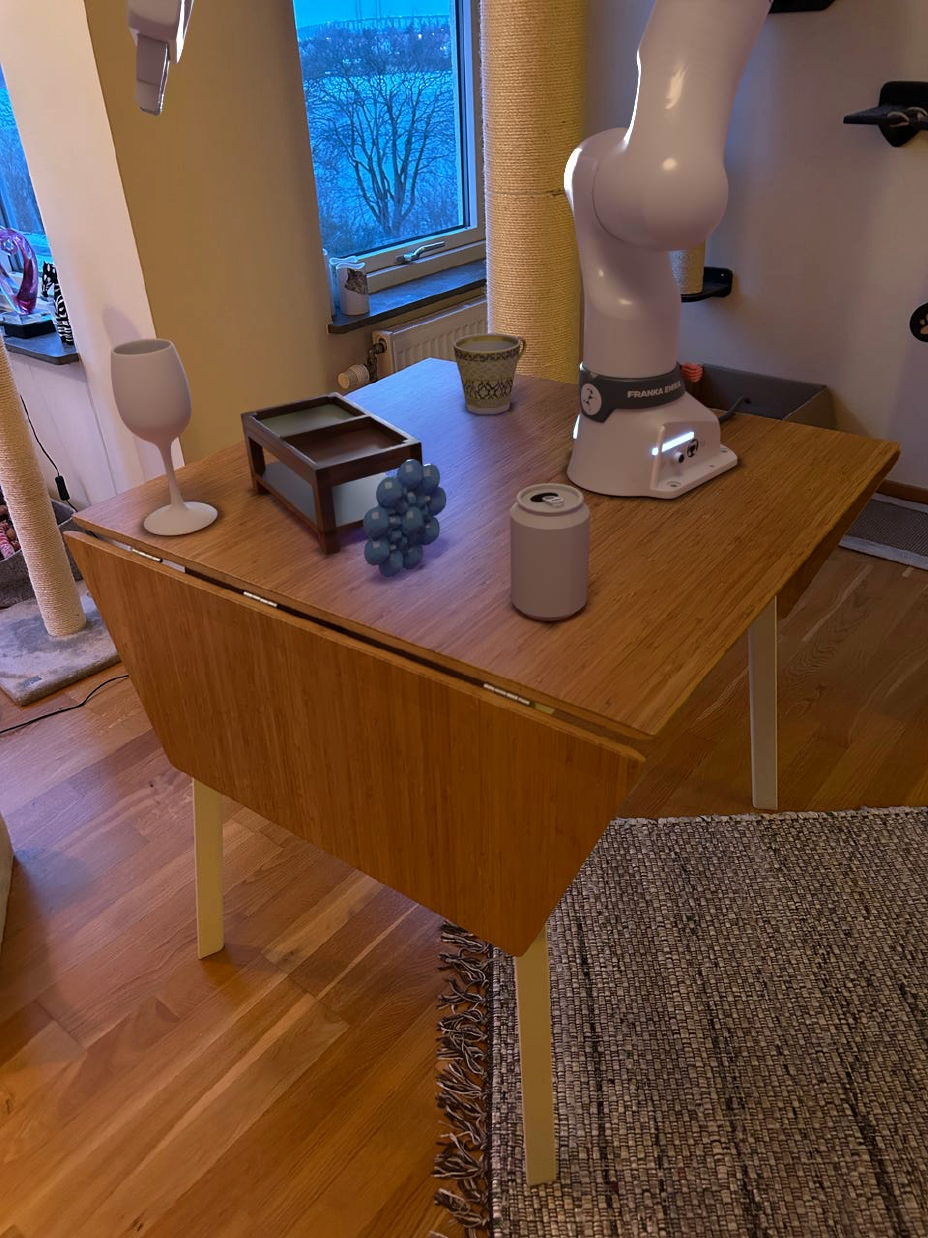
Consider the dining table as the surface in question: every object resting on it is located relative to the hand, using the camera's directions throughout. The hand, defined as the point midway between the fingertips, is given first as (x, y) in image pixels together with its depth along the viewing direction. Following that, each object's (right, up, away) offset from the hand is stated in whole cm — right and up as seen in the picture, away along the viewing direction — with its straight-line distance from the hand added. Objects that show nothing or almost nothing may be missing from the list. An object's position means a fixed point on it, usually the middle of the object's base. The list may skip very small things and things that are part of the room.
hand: (147, 111), depth 76 cm
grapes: (+20, -36, +24) cm, 48 cm away
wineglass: (-8, -30, +35) cm, 47 cm away
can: (+35, -41, +16) cm, 56 cm away
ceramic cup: (+31, -9, +66) cm, 73 cm away
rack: (+10, -28, +37) cm, 48 cm away
